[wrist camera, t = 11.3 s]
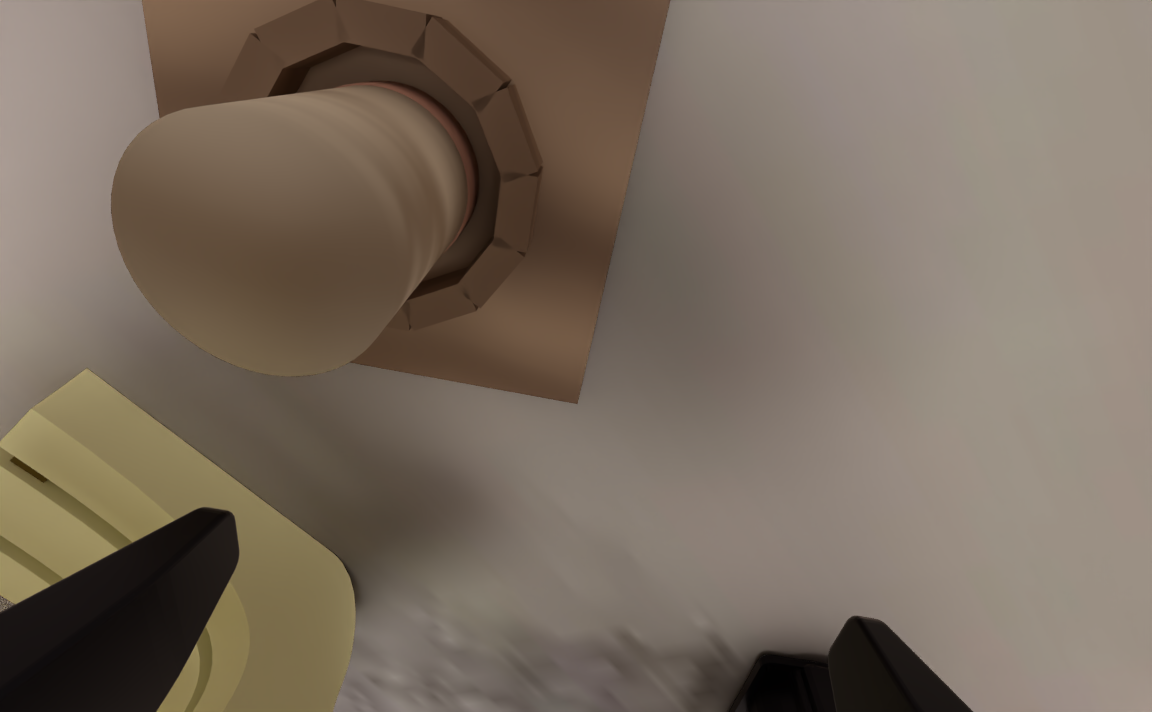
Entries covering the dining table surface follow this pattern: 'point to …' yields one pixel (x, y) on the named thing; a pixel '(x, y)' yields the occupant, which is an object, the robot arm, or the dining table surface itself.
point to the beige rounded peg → (292, 219)
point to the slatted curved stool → (150, 501)
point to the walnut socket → (499, 139)
